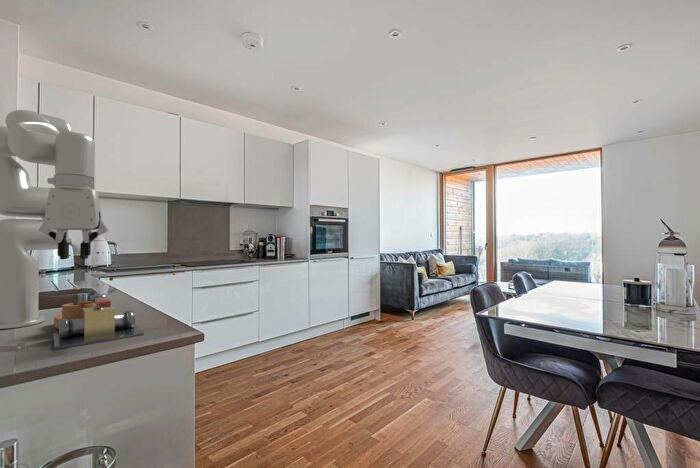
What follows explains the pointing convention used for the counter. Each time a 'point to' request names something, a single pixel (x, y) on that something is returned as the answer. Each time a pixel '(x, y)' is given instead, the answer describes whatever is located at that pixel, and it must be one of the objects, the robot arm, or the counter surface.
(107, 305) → the lever
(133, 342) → the counter surface
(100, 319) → the valve
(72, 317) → the bracket
